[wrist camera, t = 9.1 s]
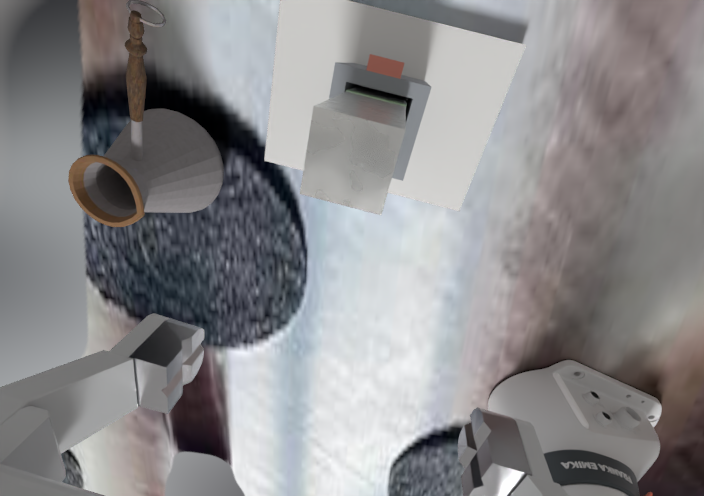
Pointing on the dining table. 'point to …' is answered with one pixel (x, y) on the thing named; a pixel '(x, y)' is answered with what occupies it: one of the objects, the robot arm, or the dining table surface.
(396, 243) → the dining table surface
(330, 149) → the column
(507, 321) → the dining table surface
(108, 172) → the coffee pot
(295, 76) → the stand
